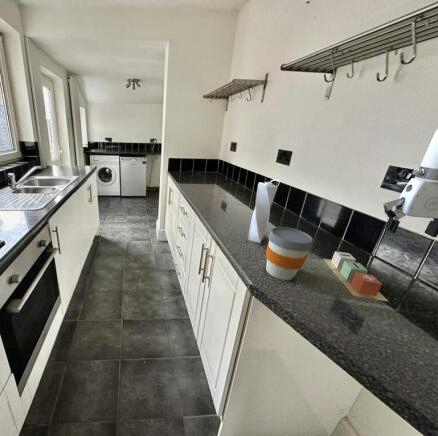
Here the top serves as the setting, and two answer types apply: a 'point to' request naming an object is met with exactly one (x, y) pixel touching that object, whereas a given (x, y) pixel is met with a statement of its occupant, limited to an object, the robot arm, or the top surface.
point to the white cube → (341, 259)
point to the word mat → (348, 282)
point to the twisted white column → (262, 210)
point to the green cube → (352, 269)
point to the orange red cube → (366, 284)
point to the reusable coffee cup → (287, 252)
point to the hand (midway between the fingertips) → (409, 233)
